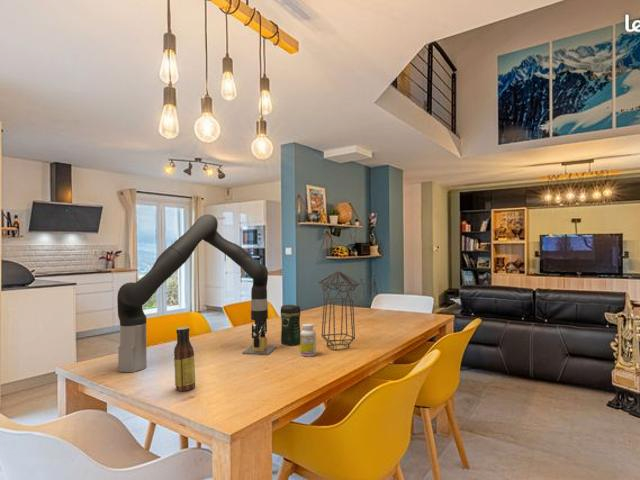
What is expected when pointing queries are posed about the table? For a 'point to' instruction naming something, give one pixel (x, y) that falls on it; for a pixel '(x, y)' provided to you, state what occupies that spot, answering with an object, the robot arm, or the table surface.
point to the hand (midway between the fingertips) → (259, 344)
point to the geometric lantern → (342, 306)
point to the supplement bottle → (308, 340)
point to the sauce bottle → (184, 361)
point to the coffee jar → (290, 325)
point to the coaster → (265, 352)
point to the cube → (261, 344)
